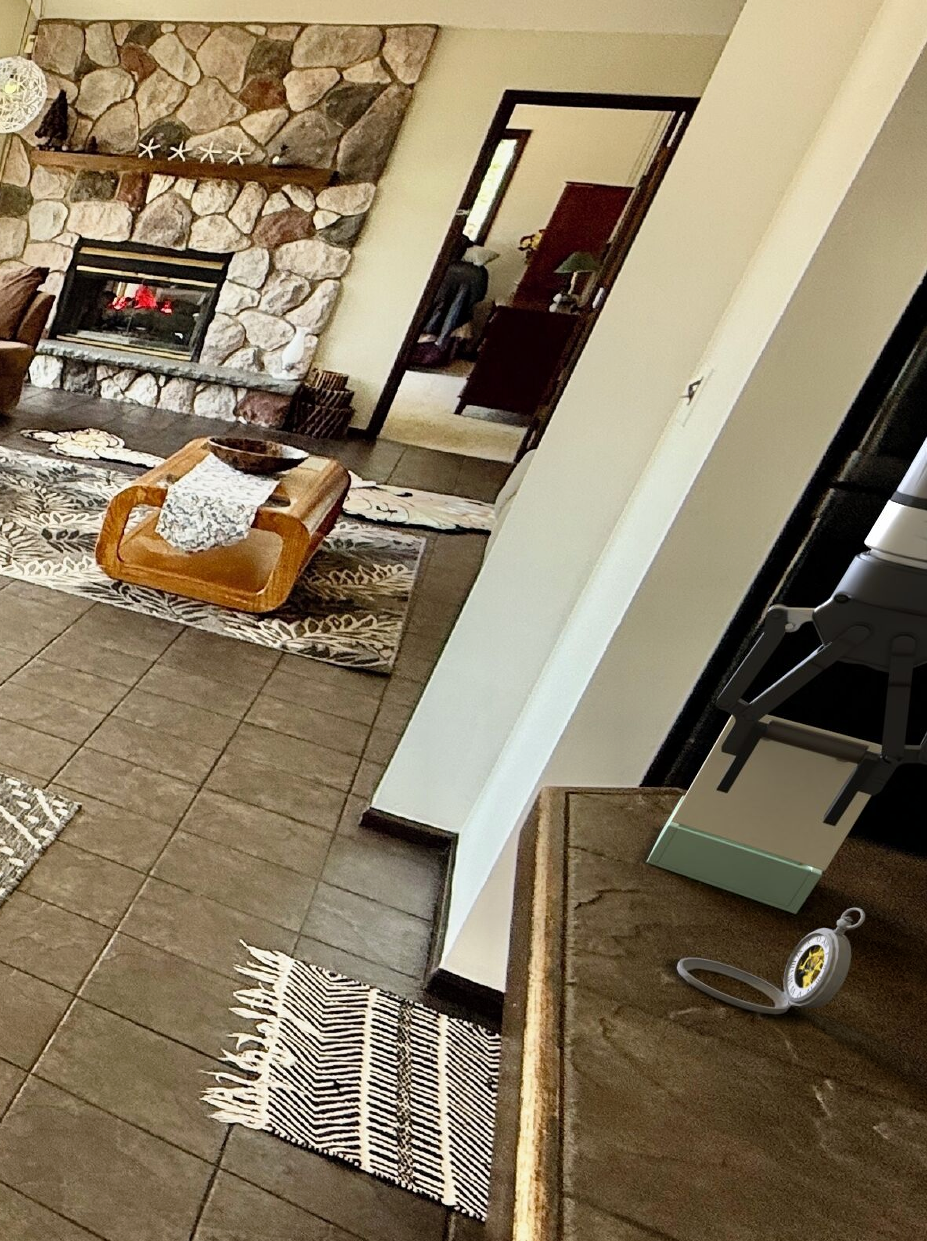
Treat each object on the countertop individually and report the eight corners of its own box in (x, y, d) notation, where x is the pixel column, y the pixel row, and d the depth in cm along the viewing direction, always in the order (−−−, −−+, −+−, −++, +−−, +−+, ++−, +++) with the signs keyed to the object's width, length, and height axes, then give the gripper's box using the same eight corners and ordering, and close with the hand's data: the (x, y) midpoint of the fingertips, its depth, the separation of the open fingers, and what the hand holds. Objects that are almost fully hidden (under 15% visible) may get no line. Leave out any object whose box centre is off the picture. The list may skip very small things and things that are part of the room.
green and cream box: (660, 833, 124) (682, 795, 122) (801, 880, 116) (828, 840, 114) (644, 865, 117) (668, 825, 115) (794, 917, 110) (821, 875, 108)
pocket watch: (651, 963, 100) (712, 865, 96) (748, 972, 100) (813, 874, 96) (747, 1028, 93) (817, 924, 89) (852, 1037, 93) (927, 933, 89)
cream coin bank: (736, 707, 113) (744, 698, 106) (897, 750, 106) (916, 743, 99) (670, 821, 115) (674, 818, 109) (824, 871, 108) (838, 871, 101)
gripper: (759, 535, 101) (627, 770, 110) (1118, 605, 88) (934, 865, 97) (767, 525, 105) (640, 751, 115) (1110, 590, 92) (935, 840, 101)
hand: (775, 803), depth 106 cm, fingers closed on cream coin bank, 6 cm apart
